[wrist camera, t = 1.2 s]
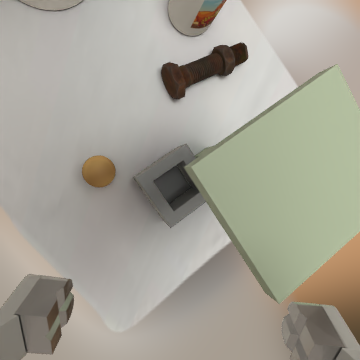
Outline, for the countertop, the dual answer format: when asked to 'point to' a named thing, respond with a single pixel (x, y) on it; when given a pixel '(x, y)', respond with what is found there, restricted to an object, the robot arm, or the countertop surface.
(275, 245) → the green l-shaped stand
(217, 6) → the milk bottle
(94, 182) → the peg
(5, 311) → the robot arm
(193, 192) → the socket
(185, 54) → the countertop surface
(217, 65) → the bolt
